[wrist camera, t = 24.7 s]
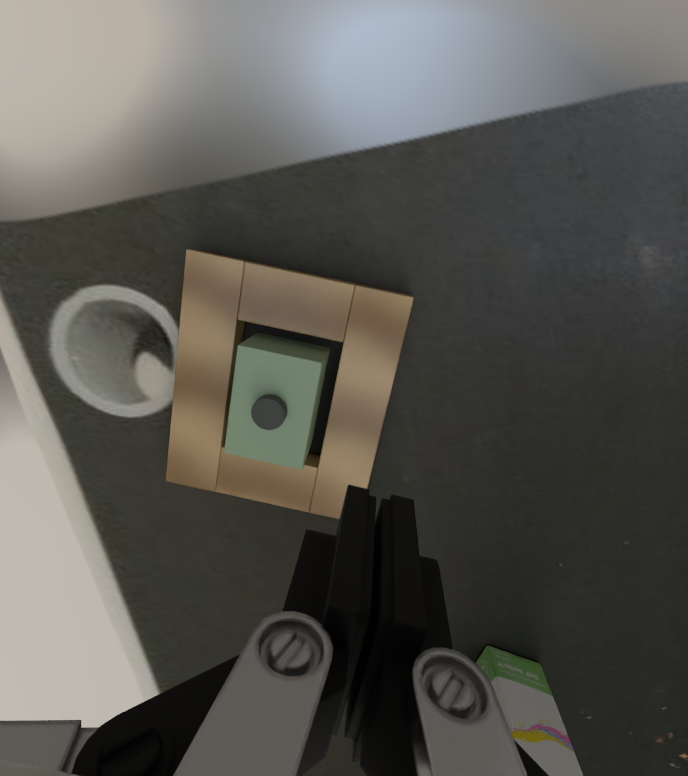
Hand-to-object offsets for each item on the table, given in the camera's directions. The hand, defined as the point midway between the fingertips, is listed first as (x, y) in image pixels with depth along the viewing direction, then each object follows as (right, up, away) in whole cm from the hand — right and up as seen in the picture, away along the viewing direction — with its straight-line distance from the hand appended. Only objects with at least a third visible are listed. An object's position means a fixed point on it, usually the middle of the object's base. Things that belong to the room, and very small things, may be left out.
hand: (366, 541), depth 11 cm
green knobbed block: (-5, +4, +19) cm, 20 cm away
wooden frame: (-5, +4, +19) cm, 20 cm away
